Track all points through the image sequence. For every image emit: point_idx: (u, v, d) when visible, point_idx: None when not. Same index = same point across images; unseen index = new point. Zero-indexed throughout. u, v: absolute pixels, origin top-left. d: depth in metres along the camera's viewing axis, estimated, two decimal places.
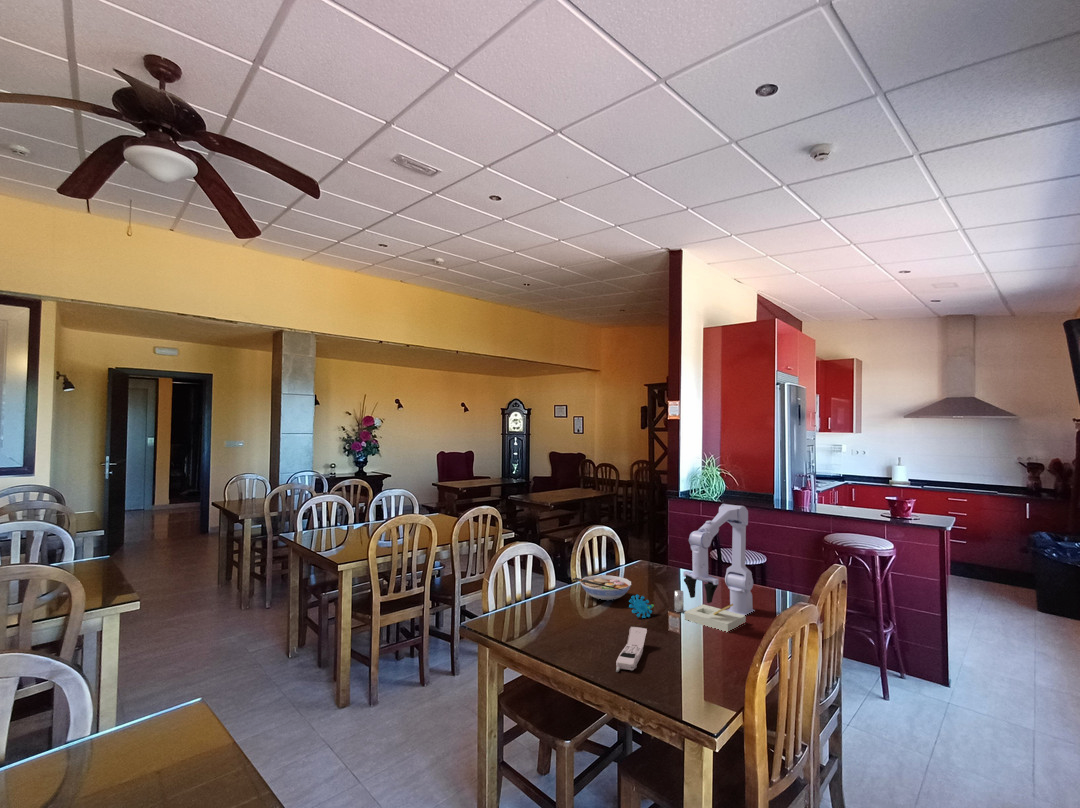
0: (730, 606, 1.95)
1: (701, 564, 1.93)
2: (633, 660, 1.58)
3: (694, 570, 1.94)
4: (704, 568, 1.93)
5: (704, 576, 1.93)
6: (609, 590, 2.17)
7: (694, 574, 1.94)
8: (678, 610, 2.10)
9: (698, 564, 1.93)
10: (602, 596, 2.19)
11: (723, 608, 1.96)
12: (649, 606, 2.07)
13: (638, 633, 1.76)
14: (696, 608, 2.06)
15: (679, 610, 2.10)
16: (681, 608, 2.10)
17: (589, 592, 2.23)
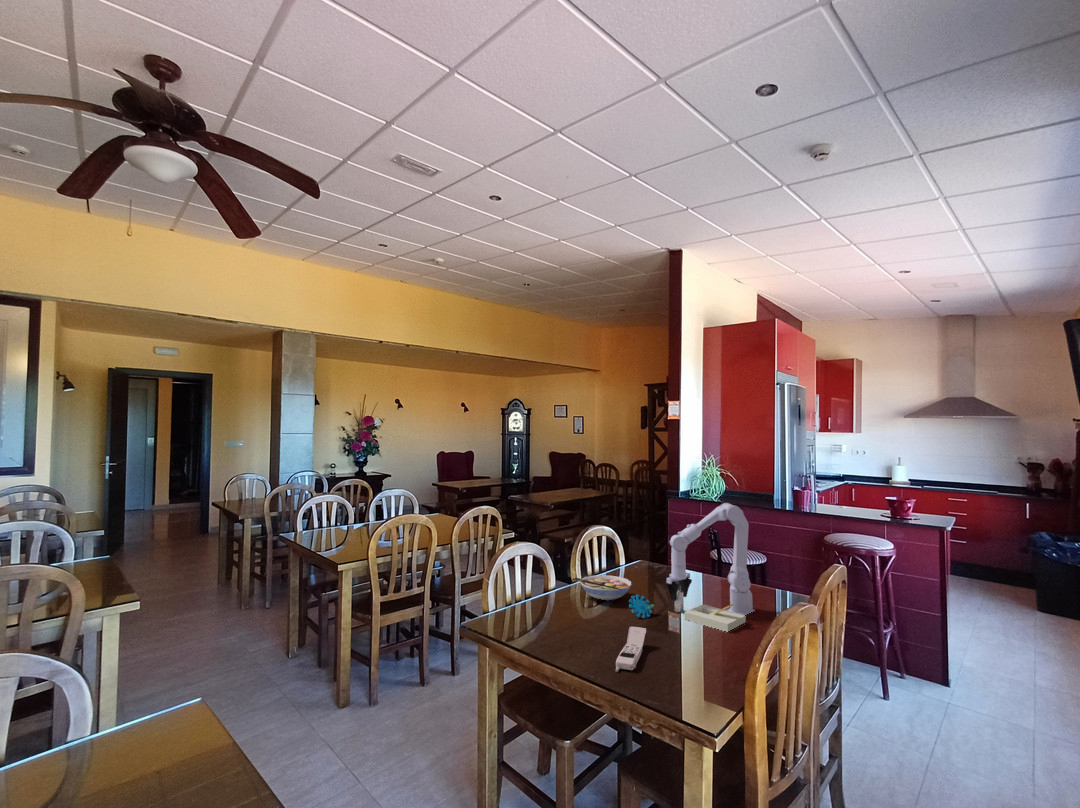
0: (730, 606, 1.95)
1: (674, 565, 2.11)
2: (632, 660, 1.58)
3: None
4: (673, 568, 2.12)
5: (672, 575, 2.12)
6: (609, 590, 2.17)
7: None
8: (678, 610, 2.10)
9: None
10: (602, 596, 2.19)
11: (723, 608, 1.96)
12: (649, 606, 2.07)
13: (637, 633, 1.76)
14: (696, 608, 2.06)
15: (679, 610, 2.10)
16: (681, 608, 2.10)
17: (589, 592, 2.23)
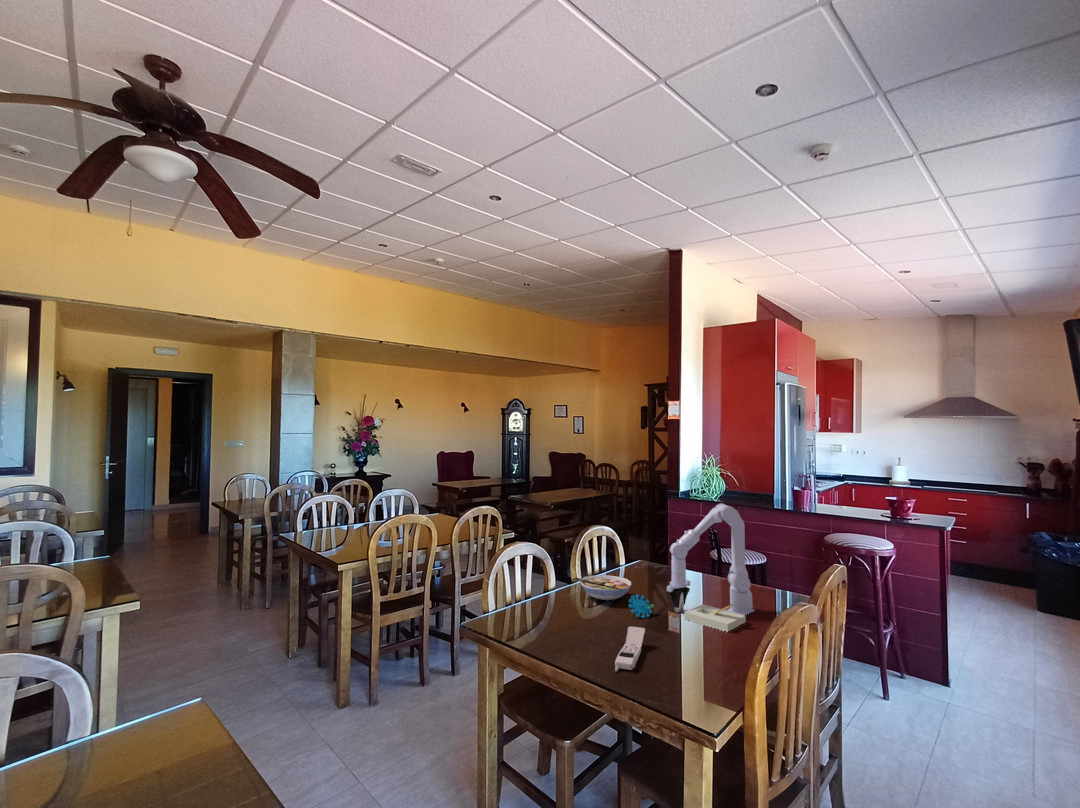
0: (730, 606, 1.95)
1: (674, 573, 2.11)
2: (632, 660, 1.58)
3: None
4: (673, 575, 2.12)
5: (672, 583, 2.11)
6: (609, 590, 2.17)
7: None
8: (678, 610, 2.10)
9: None
10: (602, 596, 2.19)
11: (723, 608, 1.96)
12: (649, 606, 2.07)
13: (636, 633, 1.76)
14: (696, 608, 2.06)
15: (679, 610, 2.10)
16: (681, 608, 2.10)
17: (589, 592, 2.23)
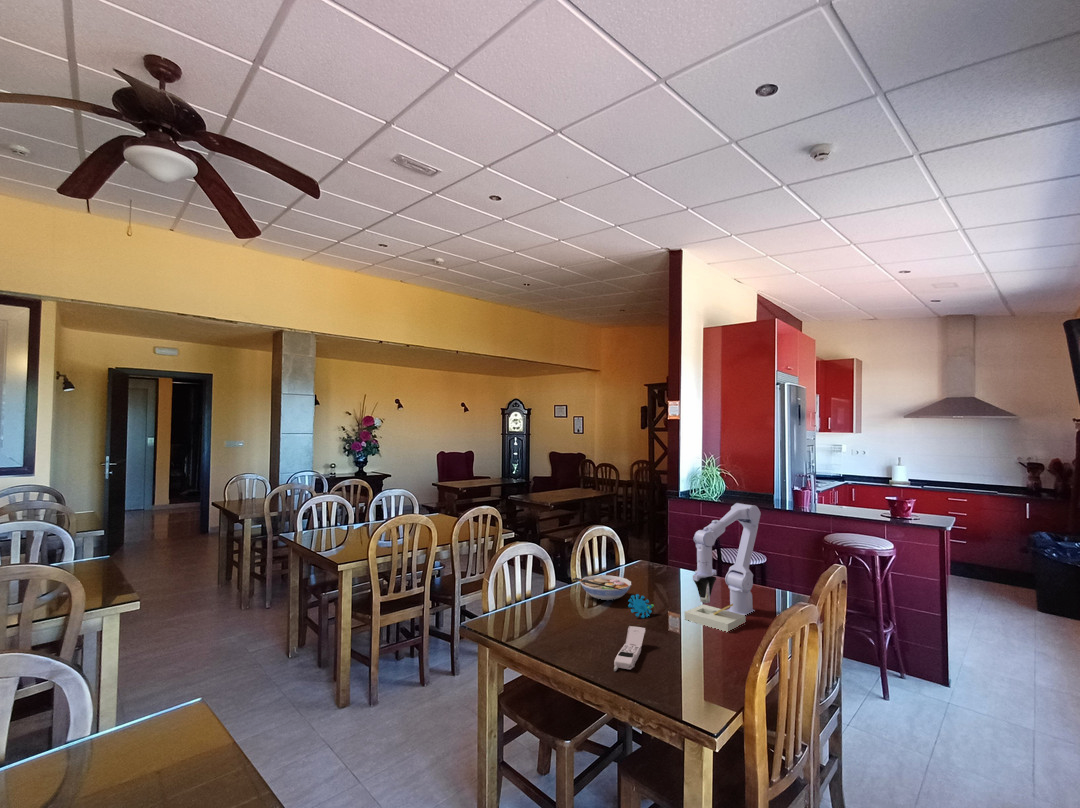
0: (730, 606, 1.95)
1: (704, 562, 2.02)
2: (631, 659, 1.58)
3: None
4: (699, 564, 2.03)
5: (698, 572, 2.03)
6: (609, 590, 2.17)
7: None
8: (704, 600, 2.02)
9: (697, 560, 2.05)
10: (602, 596, 2.19)
11: (723, 608, 1.96)
12: (649, 606, 2.07)
13: (636, 632, 1.76)
14: (696, 608, 2.06)
15: (705, 600, 2.02)
16: (707, 598, 2.02)
17: (589, 592, 2.23)
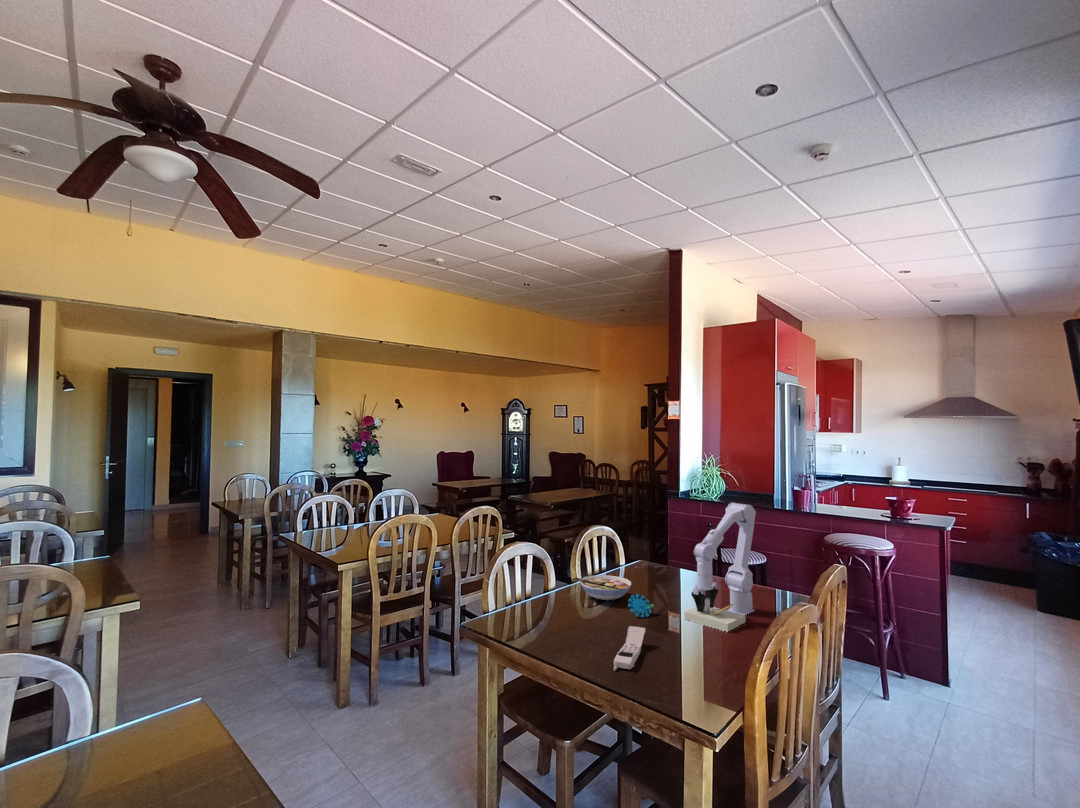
0: (730, 606, 1.95)
1: (704, 575, 2.01)
2: (630, 659, 1.59)
3: None
4: (699, 577, 2.03)
5: (698, 585, 2.03)
6: (609, 590, 2.17)
7: None
8: None
9: (697, 573, 2.05)
10: (602, 596, 2.19)
11: (723, 608, 1.96)
12: (649, 606, 2.07)
13: (636, 632, 1.76)
14: (696, 608, 2.06)
15: None
16: None
17: (589, 592, 2.23)
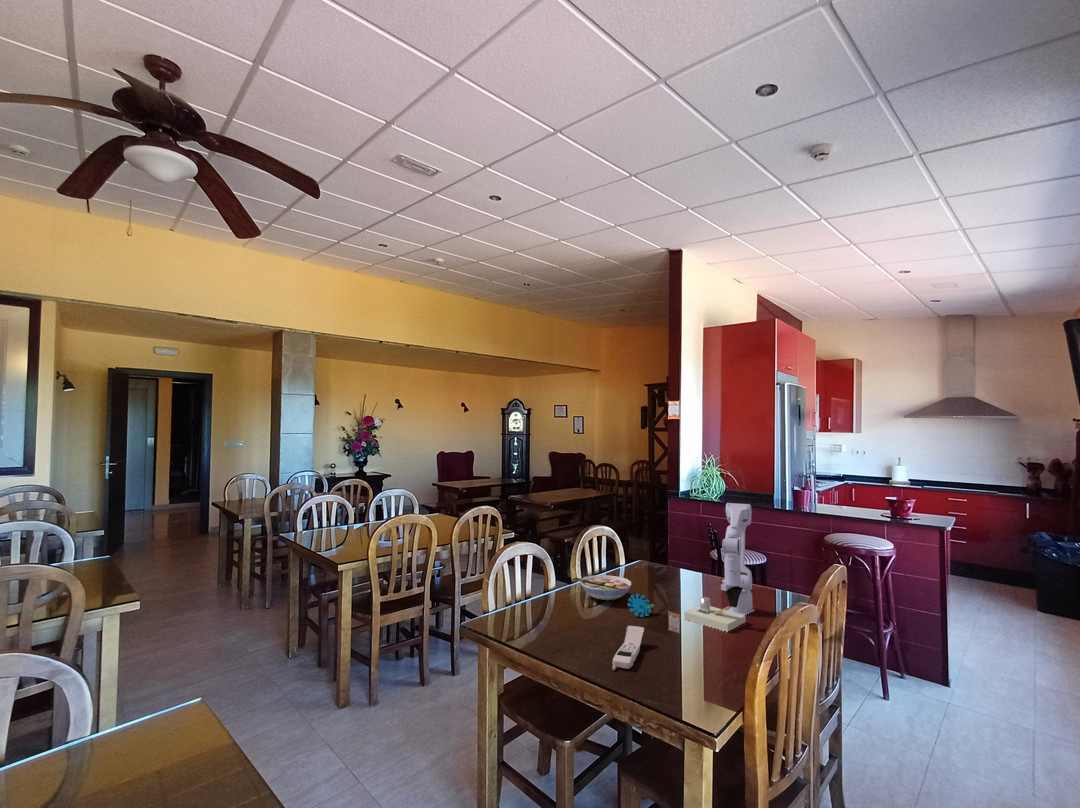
0: (730, 606, 1.94)
1: (737, 571, 1.93)
2: (629, 658, 1.59)
3: None
4: (726, 573, 1.94)
5: (726, 581, 1.94)
6: (609, 590, 2.17)
7: None
8: None
9: None
10: (602, 596, 2.19)
11: (723, 609, 1.96)
12: (649, 606, 2.08)
13: (635, 632, 1.77)
14: (696, 608, 2.06)
15: None
16: None
17: (589, 592, 2.23)
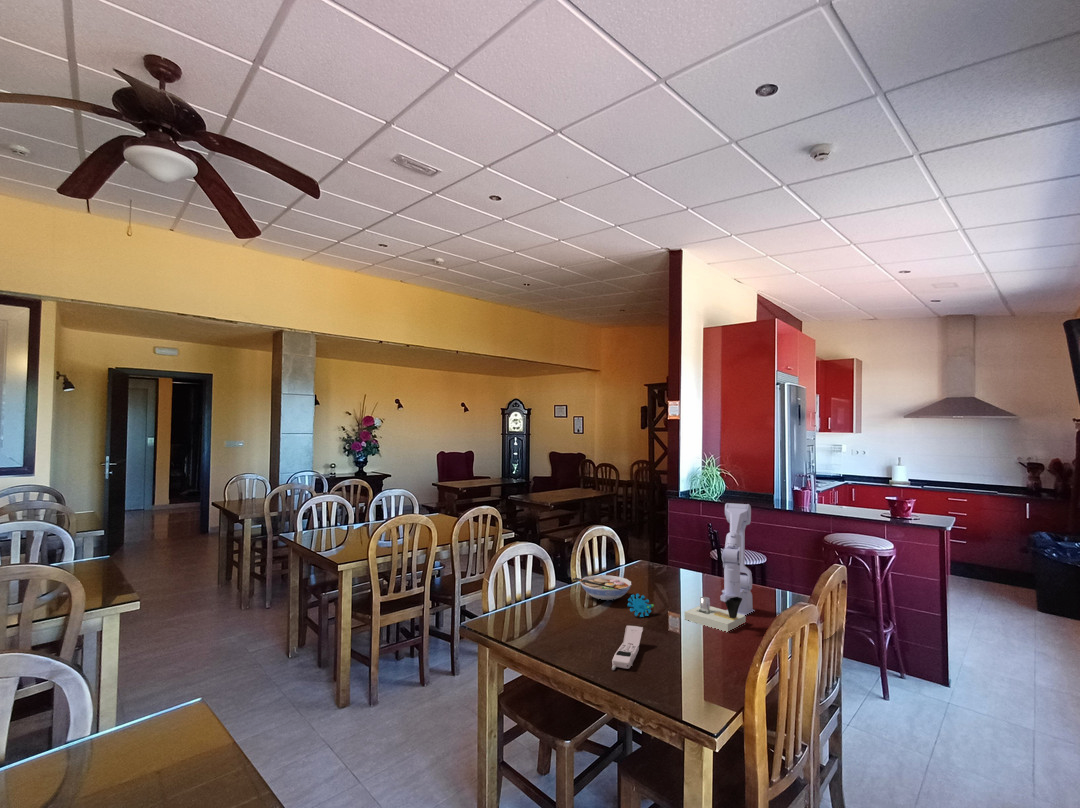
0: (734, 619, 1.93)
1: (736, 581, 1.93)
2: (629, 658, 1.59)
3: None
4: (726, 584, 1.94)
5: (726, 592, 1.94)
6: (609, 590, 2.17)
7: None
8: None
9: (724, 579, 1.97)
10: (602, 596, 2.19)
11: (726, 617, 1.95)
12: (649, 606, 2.08)
13: (634, 632, 1.77)
14: (696, 608, 2.06)
15: None
16: None
17: (589, 592, 2.23)
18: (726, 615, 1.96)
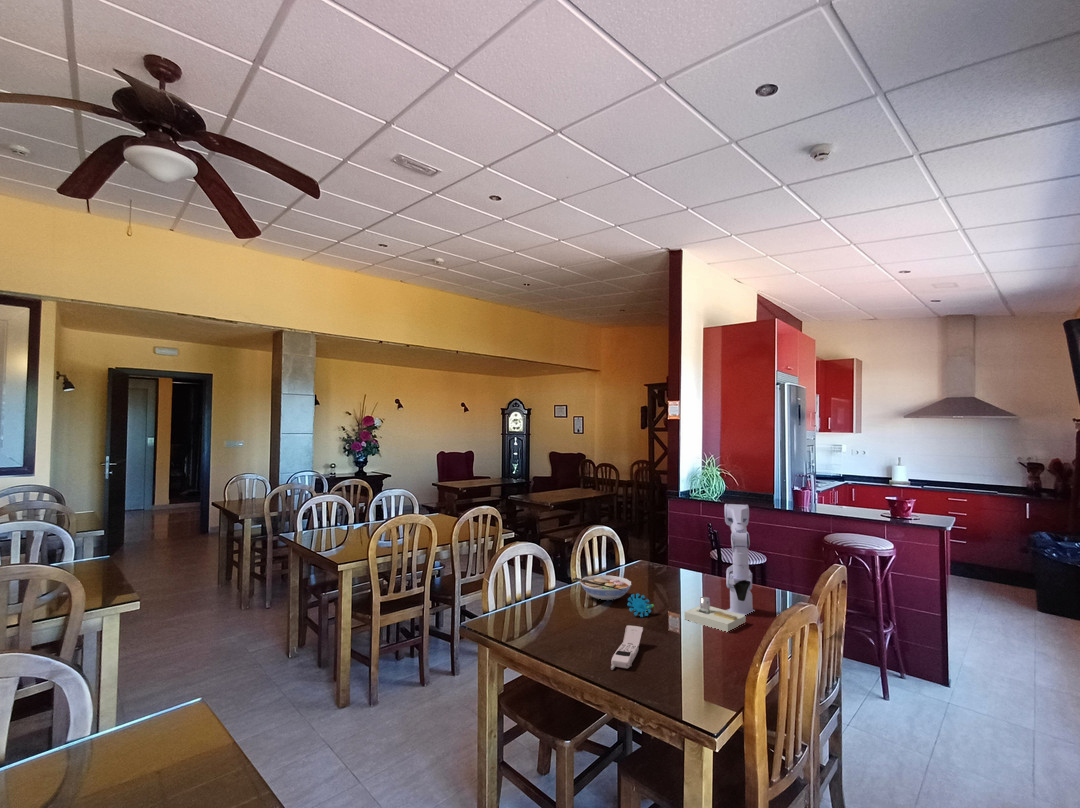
0: (734, 619, 1.93)
1: (746, 565, 1.95)
2: (628, 658, 1.59)
3: None
4: (735, 567, 1.96)
5: (734, 575, 1.96)
6: (609, 590, 2.17)
7: None
8: None
9: None
10: (602, 596, 2.19)
11: (726, 617, 1.95)
12: (648, 605, 2.08)
13: (634, 631, 1.77)
14: (696, 608, 2.06)
15: None
16: None
17: (589, 592, 2.23)
18: (726, 615, 1.96)
